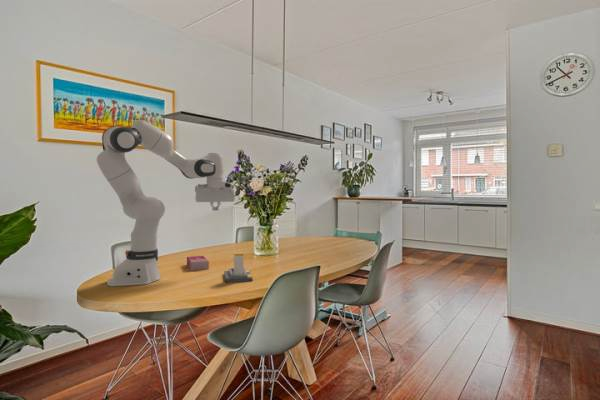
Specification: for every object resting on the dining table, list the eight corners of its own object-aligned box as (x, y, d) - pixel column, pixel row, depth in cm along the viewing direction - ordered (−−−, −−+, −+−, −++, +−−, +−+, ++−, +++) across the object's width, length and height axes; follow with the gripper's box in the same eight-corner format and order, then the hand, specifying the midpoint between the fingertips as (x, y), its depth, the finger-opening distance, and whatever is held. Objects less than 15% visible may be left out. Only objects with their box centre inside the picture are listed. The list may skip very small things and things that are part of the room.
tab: (234, 277, 164) (234, 253, 164) (233, 275, 168) (233, 252, 168) (243, 276, 165) (243, 253, 165) (242, 274, 169) (242, 251, 169)
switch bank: (226, 282, 161) (226, 276, 161) (224, 273, 177) (224, 268, 177) (252, 280, 164) (252, 275, 164) (248, 272, 180) (248, 267, 180)
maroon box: (202, 253, 205) (208, 260, 187) (202, 262, 205) (208, 269, 187) (185, 255, 201) (190, 262, 183) (185, 263, 201) (190, 271, 183)
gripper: (195, 184, 178) (196, 211, 179) (235, 184, 187) (235, 210, 188) (194, 184, 184) (194, 210, 185) (232, 184, 193) (232, 209, 194)
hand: (215, 210), depth 186 cm, fingers closed
